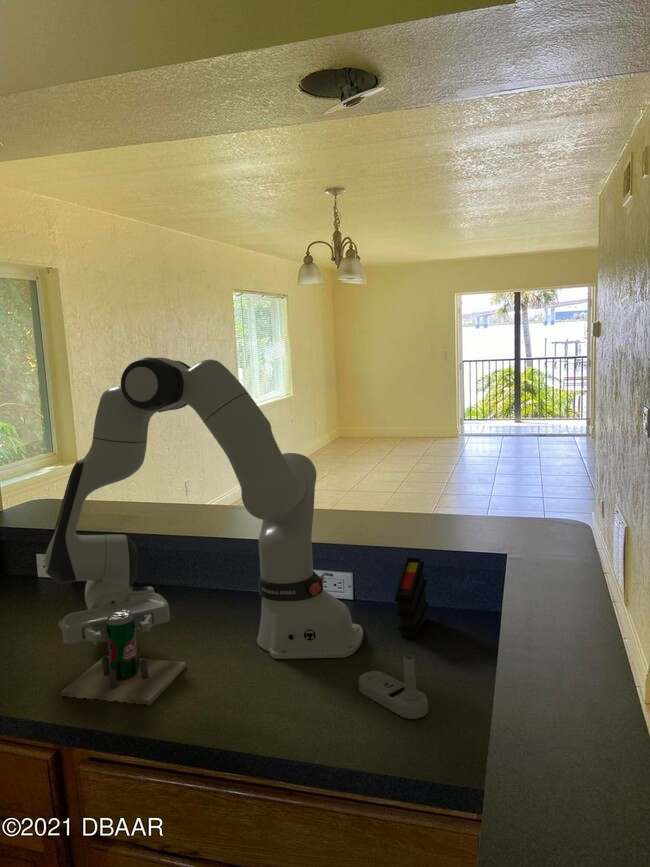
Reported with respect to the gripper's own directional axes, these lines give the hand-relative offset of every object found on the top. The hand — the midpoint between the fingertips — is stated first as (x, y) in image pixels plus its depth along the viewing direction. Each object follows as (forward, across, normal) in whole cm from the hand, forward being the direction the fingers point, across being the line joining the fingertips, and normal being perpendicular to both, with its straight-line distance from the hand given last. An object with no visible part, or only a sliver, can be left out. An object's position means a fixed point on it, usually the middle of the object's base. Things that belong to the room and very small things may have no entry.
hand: (122, 634), depth 122 cm
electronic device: (+30, +40, +10) cm, 51 cm away
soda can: (-1, 0, +9) cm, 9 cm away
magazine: (+9, +58, +10) cm, 60 cm away
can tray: (-1, 0, +10) cm, 10 cm away
